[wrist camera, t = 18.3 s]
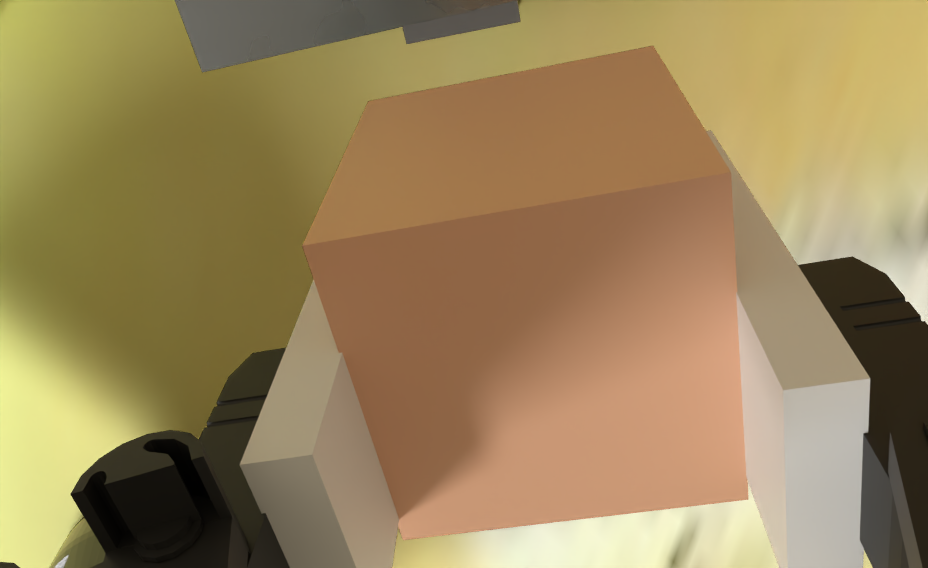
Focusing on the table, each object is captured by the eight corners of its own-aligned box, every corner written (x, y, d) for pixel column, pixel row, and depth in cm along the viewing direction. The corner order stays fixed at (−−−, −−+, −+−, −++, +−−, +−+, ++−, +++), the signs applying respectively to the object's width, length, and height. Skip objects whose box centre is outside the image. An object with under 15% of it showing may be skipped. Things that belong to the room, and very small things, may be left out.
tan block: (431, 333, 15) (403, 539, 11) (368, 101, 13) (301, 245, 9) (676, 295, 15) (748, 499, 10) (652, 45, 13) (730, 171, 8)
